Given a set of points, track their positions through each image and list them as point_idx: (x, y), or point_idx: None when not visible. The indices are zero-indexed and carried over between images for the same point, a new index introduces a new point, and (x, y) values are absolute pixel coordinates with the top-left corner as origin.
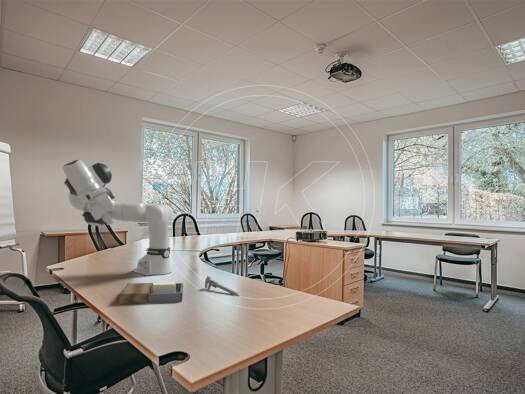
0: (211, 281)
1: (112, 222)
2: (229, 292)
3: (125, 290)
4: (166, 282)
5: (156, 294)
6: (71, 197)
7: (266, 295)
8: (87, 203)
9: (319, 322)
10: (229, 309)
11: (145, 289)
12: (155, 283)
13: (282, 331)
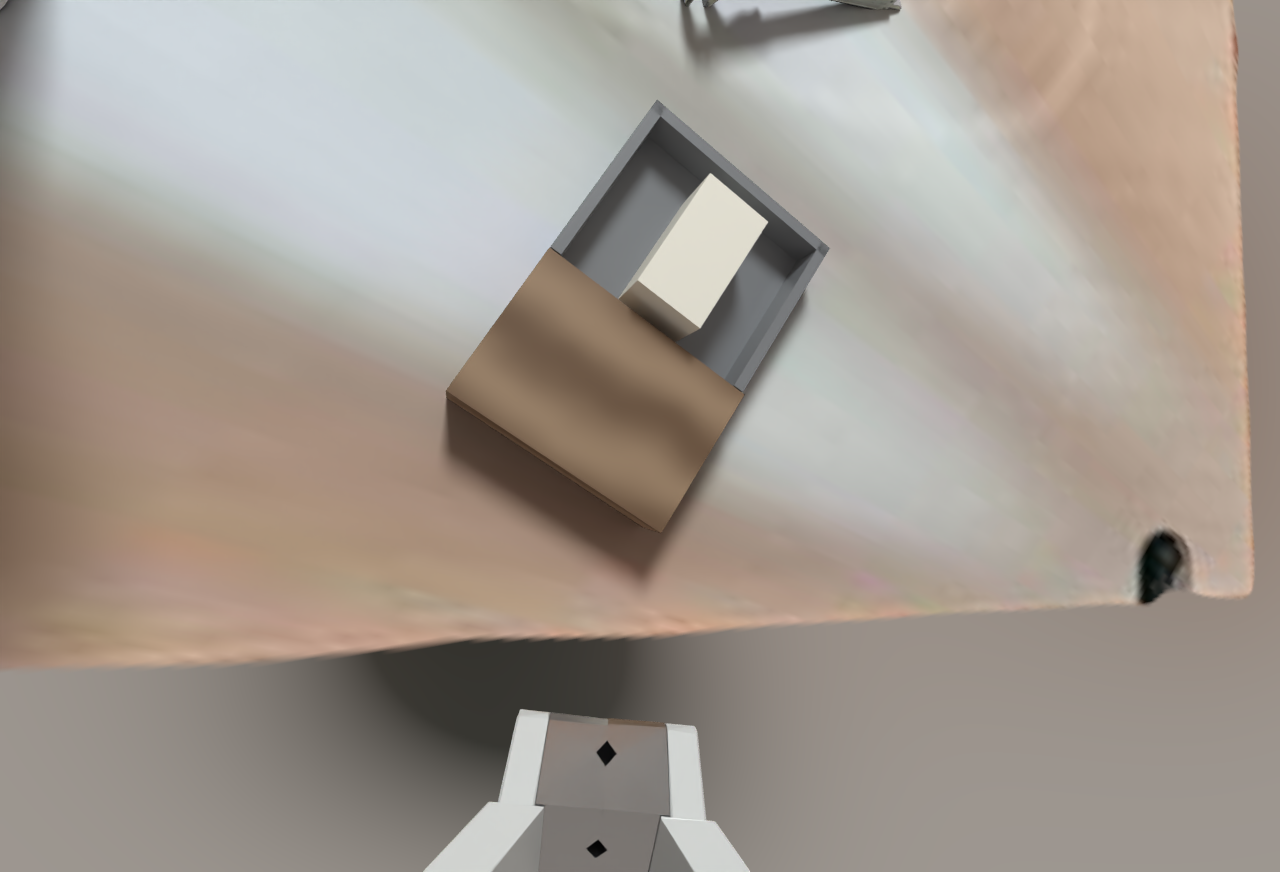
0: None
1: (690, 740)
2: (852, 3)
3: (609, 474)
4: (698, 232)
5: (760, 359)
6: None
7: None
8: None
9: (1226, 83)
10: (998, 187)
11: (666, 370)
12: (677, 297)
13: (1208, 226)
